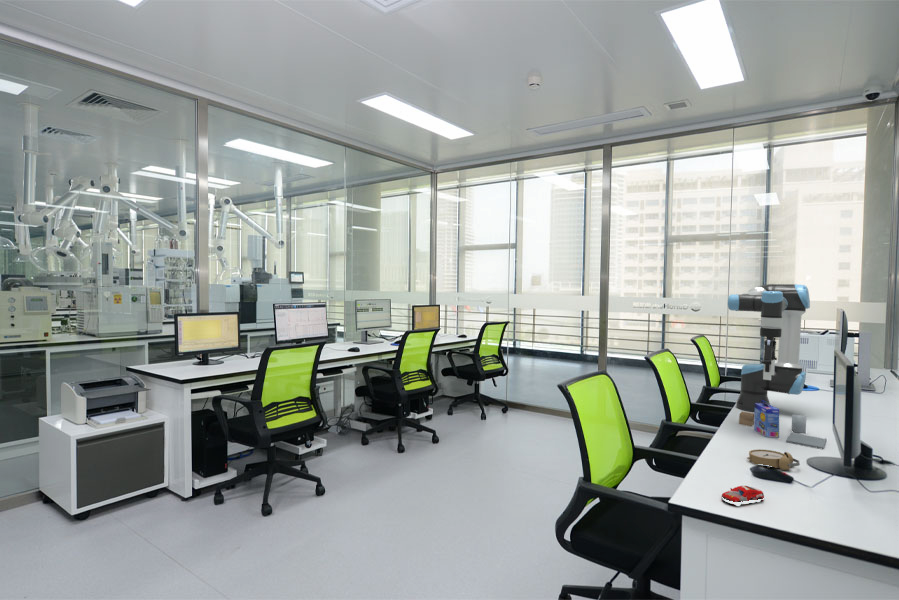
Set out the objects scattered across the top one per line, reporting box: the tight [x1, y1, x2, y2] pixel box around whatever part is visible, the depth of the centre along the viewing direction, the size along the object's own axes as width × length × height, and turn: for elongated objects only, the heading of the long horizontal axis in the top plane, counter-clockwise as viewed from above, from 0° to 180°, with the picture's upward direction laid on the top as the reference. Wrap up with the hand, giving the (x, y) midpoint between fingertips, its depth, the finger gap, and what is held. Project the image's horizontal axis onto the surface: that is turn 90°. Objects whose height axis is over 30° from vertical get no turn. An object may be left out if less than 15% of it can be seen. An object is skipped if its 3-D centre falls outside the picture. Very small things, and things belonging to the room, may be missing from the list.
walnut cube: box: [738, 411, 755, 427], centre depth 218 cm, size 5×5×5 cm
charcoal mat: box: [785, 432, 827, 450], centre depth 195 cm, size 14×12×1 cm
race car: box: [721, 485, 765, 502], centre depth 140 cm, size 13×5×4 cm, turn 107°
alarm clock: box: [746, 448, 801, 471], centre depth 169 cm, size 11×5×15 cm
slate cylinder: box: [791, 414, 807, 434], centre depth 208 cm, size 5×5×7 cm
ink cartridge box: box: [753, 400, 780, 439], centre depth 204 cm, size 10×6×14 cm, turn 174°
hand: (768, 377), depth 203 cm, fingers open, 13 cm apart
